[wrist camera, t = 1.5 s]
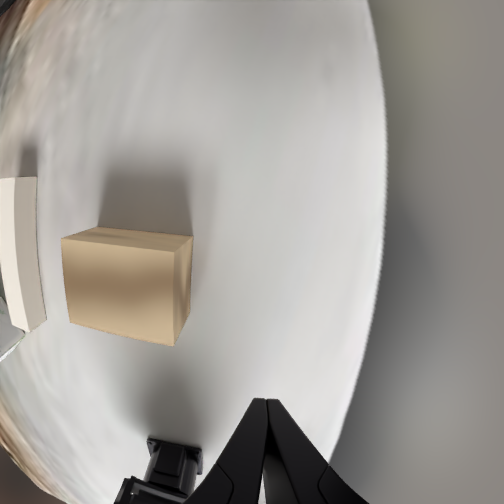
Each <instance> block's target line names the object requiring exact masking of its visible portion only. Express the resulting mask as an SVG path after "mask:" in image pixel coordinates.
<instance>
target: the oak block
mask: <svg viewBox="0 0 504 504" xmlns="http://www.w3.org/2000/svg"><path fill="white" fill-rule="evenodd" d="M192 247H193V236H185V235H175V234H166V233H156V232H146V231H136V230H126V229H115V228H105V227H95V228H92V229H89V230H85V231H82V232H79V233H76V234H73V235H70V236H67V237H64V238H61V249H62V264H63V276H64V285H65V293H66V300H67V307H68V313H69V319H70V323H74V324H77V325H81V326H84V327H88V328H92V329H95V330H99V331H103V332H107V333H111V334H115V335H120V336H124V337H128V338H133V339H138V340H142V341H147V342H152V343H157V344H163V345H168V346H174V345H175V343H176V341H177V338H178V336H179V334H180V332H181V330H182V328H183V326H184V324H185V322H186V320H187V318H188V316H189V313H190V286H191V264H192Z"/></svg>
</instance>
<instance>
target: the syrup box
mask: <svg viewBox="0 0 504 504" xmlns="http://www.w3.org/2000/svg"><path fill="white" fill-rule="evenodd" d="M24 336H25V334H24V332H23V331H22V329H20V328H18V327H16V326H14V325H12V322H11V318H10V314H9V310H8V307H7V305H6V303H5V302H4V300H3V298H2V297H0V362H1V361H2V360H3V359H4V358H5V357H6V356H7V355H8V354H9V353H11V352H12V351H13V350H14V349H15V347H16V346H17V345H18V343H19V342H20V341H21V340H22V339H23V337H24Z"/></svg>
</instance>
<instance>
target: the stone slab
mask: <svg viewBox="0 0 504 504" xmlns="http://www.w3.org/2000/svg"><path fill="white" fill-rule="evenodd" d="M14 2H15V0H0V16H1V15H2V14H3V13H5V11H6V10H8V9H9V7H10V6H11V5H12V4H13V3H14Z"/></svg>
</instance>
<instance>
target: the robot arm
mask: <svg viewBox="0 0 504 504" xmlns="http://www.w3.org/2000/svg"><path fill="white" fill-rule="evenodd" d="M147 445H148V449H149V453H150V456H151V459H150V462H149V465H148V468H147V471H146V474H145V477H144V480H140V479H137V478H136V477H134V476H131V479H130V478H129V479H127V478H124V481H123V484H122V486H121V489H120V491H119V493H118V495H117V497H116V499H115V502H114V504H258V500H259V494H260V487H261V480H262V473H263V480H264V489H265V497H266V504H369V503H368V502H367V501H365V500H364V499H363V498H362V497H361V496H359V495H358V494H357V493H356V492H355V491H354V490H353V489H351V488H350V487H349V486H348V485H347V484H346V483H345V482H344V481H343V480H342V479H341V478H340V477H339V475H338V474H337V473H336V472H335V471H334V470H333V468H332V467H331V466H328V465H329V464H328V463H327V461H326V460H325V459H324V458H323V456H322V455H321V454H320V453H319V452H318V450H317V449H316V448H315V447H314V445H313V444H312V443H311V441H310V440H309V439H308V438H307V436H306V435H305V434H304V433H303V431H302V430H301V429H300V427H299V426H298V425H297V423H296V422H295V421H294V419H293V418H292V417H291V415H290V414H289V413H288V411H287V410H286V409H285V407H284V406H283V405H282V403H281V402H280V401H279V400H278V399H265V398H253V400H252V402H251V403H250V405H249V407H248V409H247V411H246V412H245V414H244V416H243V418H242V419H241V421H240V423H239V425H238V426H237V428H236V430H235V431H234V433H233V435H232V436H231V438H230V440H229V441H228V443H227V445H226V446H225V448H224V450H223V451H222V453H221V455H220V456H219V458H218V459H217V461H216V463H215V464H214V465H213V467H212V469H211V470H210V472H209V473H208V474H207V476H206V477H205V479H204V480H203V481H202V483H201V484H200V485H199V486H198V487H197V488H196V490H195V491H194V486H195V480H196V475H201V474H202V450H201V449H199V448H193V447H188V446H182V445H177V444H172V443H167V442H163V441H159V440H154V439H150V438H149V439H147ZM132 493H133V494H132Z"/></svg>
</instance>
